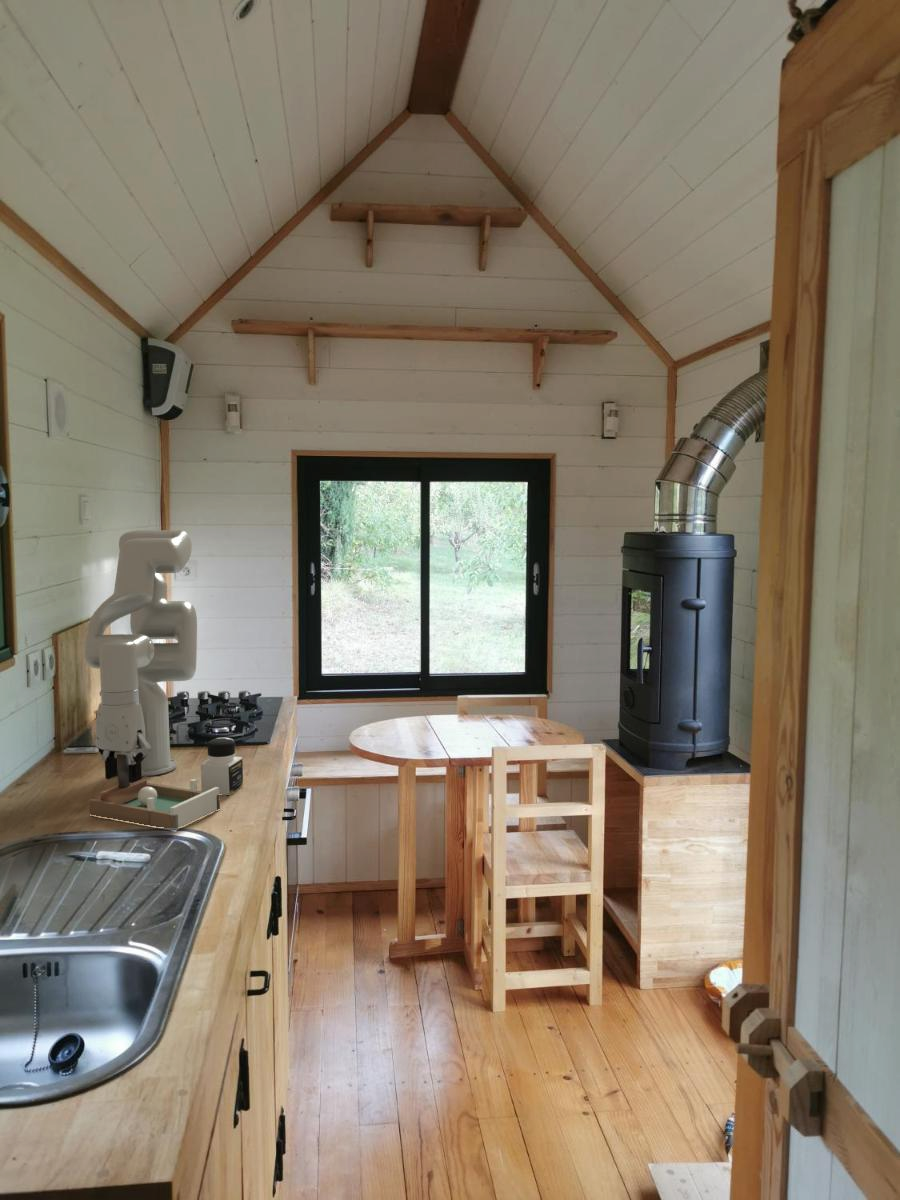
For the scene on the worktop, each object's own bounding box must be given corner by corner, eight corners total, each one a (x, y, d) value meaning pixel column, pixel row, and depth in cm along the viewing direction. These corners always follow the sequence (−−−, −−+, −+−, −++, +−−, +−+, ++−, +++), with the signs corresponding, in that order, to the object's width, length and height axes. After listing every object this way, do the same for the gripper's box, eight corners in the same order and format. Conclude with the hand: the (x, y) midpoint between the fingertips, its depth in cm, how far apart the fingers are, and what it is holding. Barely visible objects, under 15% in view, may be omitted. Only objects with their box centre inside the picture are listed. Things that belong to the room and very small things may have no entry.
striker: (101, 806, 185) (98, 760, 184) (136, 791, 195) (134, 748, 194) (111, 808, 184) (109, 762, 183) (147, 793, 193) (145, 749, 192)
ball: (133, 806, 186) (133, 788, 185) (147, 800, 189) (146, 783, 189) (148, 809, 184) (147, 790, 184) (161, 803, 188) (161, 785, 187)
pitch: (89, 816, 184) (88, 788, 184) (137, 796, 197) (136, 770, 196) (175, 832, 175) (174, 803, 174) (219, 810, 188) (219, 783, 187)
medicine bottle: (230, 796, 197) (228, 744, 196) (201, 794, 198) (199, 742, 197) (243, 786, 204) (242, 736, 202) (215, 784, 205) (213, 734, 204)
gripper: (76, 697, 187) (80, 779, 189) (138, 704, 180) (141, 789, 182) (103, 690, 194) (106, 769, 196) (163, 697, 187) (166, 779, 189)
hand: (123, 778), depth 189 cm, fingers open, 5 cm apart
